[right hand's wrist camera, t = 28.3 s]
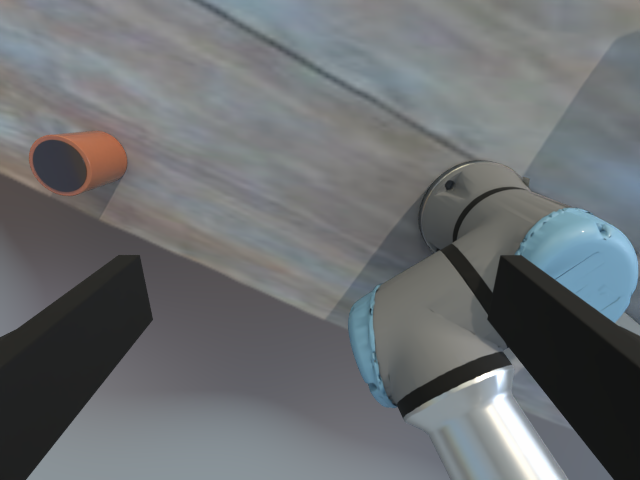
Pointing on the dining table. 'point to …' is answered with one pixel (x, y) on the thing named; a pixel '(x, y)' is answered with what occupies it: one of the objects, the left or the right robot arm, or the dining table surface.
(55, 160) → the terracotta pot
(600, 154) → the dining table surface
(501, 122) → the dining table surface
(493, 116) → the dining table surface
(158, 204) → the dining table surface
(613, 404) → the right robot arm
